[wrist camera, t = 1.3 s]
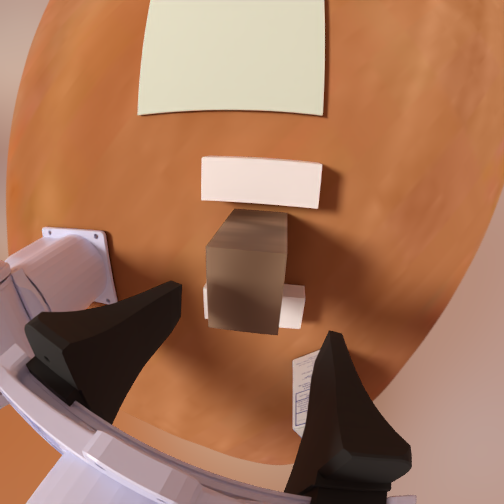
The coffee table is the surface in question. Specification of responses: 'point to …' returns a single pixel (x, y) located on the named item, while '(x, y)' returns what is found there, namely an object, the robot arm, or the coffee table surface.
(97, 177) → the coffee table surface
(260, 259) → the walnut block
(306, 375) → the medicine box
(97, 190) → the coffee table surface
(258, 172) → the slot blocks
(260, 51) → the mat
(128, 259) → the coffee table surface
